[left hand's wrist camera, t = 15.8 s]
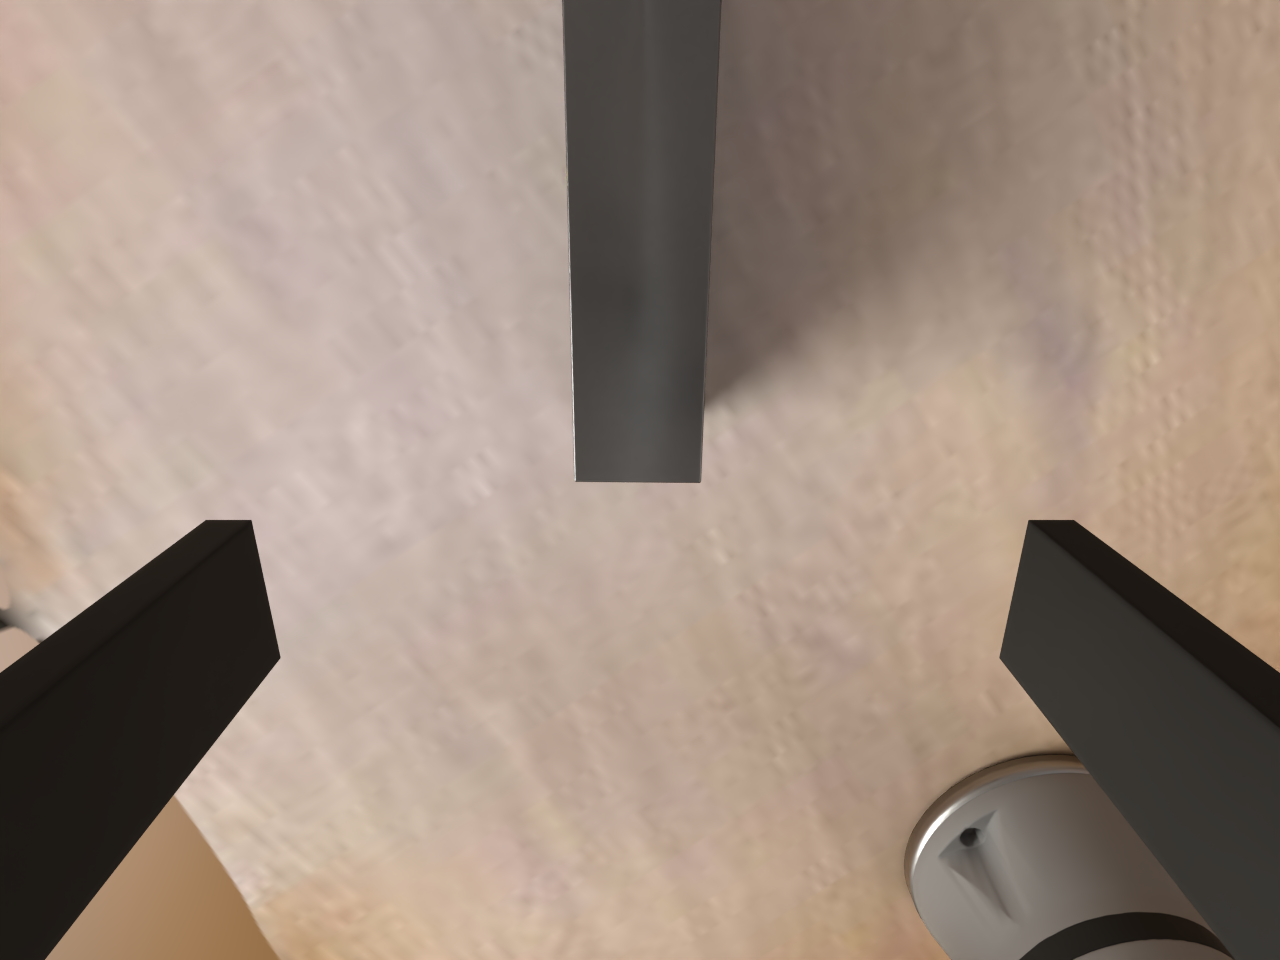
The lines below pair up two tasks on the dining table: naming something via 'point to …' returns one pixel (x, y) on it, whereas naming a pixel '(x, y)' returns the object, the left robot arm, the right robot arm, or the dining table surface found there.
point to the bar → (639, 231)
